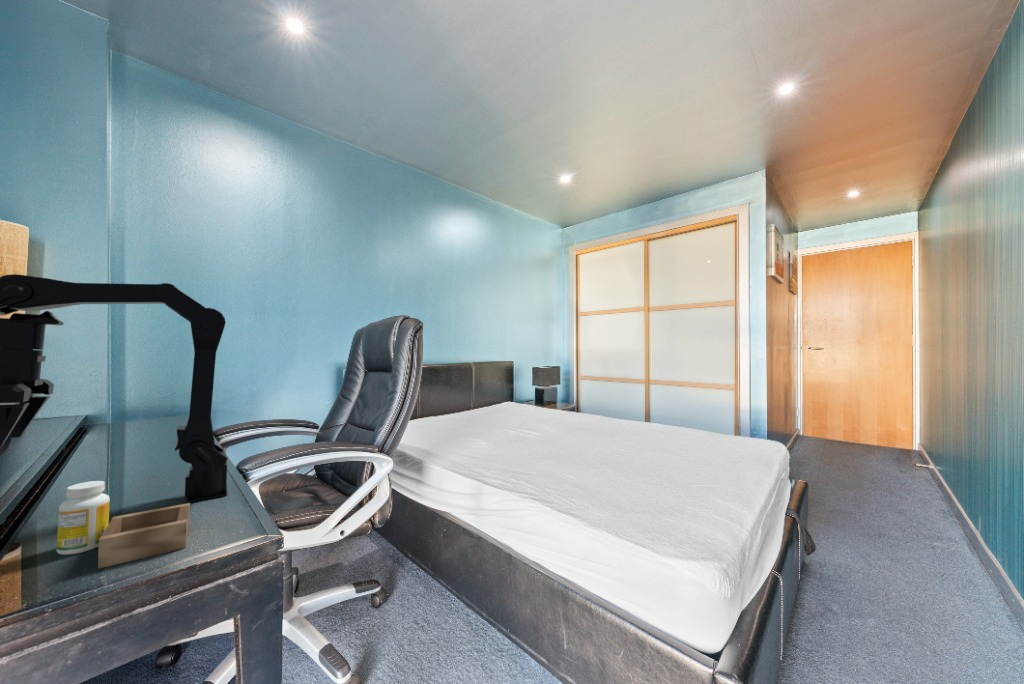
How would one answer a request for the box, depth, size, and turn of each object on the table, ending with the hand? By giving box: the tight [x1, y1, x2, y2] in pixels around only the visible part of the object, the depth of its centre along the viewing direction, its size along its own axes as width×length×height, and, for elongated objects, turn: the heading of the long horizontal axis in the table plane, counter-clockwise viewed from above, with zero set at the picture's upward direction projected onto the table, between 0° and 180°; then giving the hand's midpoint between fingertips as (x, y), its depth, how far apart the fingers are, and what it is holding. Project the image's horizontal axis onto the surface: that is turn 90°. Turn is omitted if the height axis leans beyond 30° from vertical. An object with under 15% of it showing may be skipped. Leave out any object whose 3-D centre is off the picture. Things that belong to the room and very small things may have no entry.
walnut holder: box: [97, 502, 191, 570], centre depth 60 cm, size 9×9×4 cm
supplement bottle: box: [56, 480, 111, 556], centre depth 59 cm, size 5×5×10 cm
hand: (6, 441), depth 64 cm, fingers open, 9 cm apart
